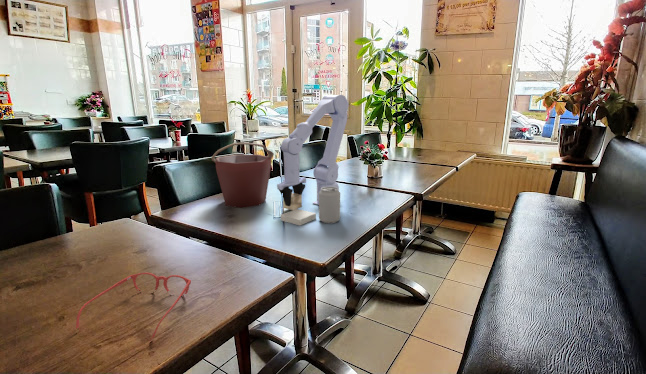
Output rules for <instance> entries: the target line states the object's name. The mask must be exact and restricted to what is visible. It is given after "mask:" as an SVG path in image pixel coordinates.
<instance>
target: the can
mask: <svg viewBox="0 0 646 374" xmlns="http://www.w3.org/2000/svg"><path fill="white" fill-rule="evenodd" d="M338 190H339V191H338ZM340 219H341V192H340V188H339V189H338V188H336V187H323V188H321V191H320V192H319V205H318V220H320V221H321V223H323V224H335V223H338V221H339V220H340Z"/></svg>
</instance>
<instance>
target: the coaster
mask: <svg viewBox="0 0 646 374" xmlns="http://www.w3.org/2000/svg"><path fill="white" fill-rule="evenodd" d="M316 219H317V213H316V212H313V211H312V212H311V211H307V210H303V209H301V208H298V209H295V210H290V211H288V212H285V213H282V214H280V221H282V222H286V223H289V224H293V225H297V226H302V225H304V224H306V223H310V222H311V221H313V220H316Z"/></svg>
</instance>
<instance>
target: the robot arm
mask: <svg viewBox="0 0 646 374" xmlns="http://www.w3.org/2000/svg"><path fill="white" fill-rule="evenodd" d="M349 105H350V104H349V102H348V99H347V97H346V96H345V95H344V94H337V95H336V94H335V95H334V94H325V95H324V96H322V99H320V100H319V101H318V105H317V106H316V107H315V109H314V110H313V111H312V113H311V114H310V115H309V117H308V118H307V119H306V121H305V122H300V123H297V124H296V127H295V129H294V130H293V131H292V132H291V133H290V134H288V137H286V138H284V139H283V140H282V142H281V145H280V150H281V151H282V152H283V167H284V168H283V169H284V170H283V171H284V173H283V175H284V179H283V180H282V182H279V183H277V184H276V187H277V188H276V189H277V190H278V191H279V192H280V194H281V195H282V193H283V196H282V198H283V199H284V202H285V205H286V206H290V205H291V195H292V193H295V194H300V195H302V196H303V192H304V190H305V188H306V183H307V178H306V177H300V152H302V150H303V145H304V143H305V142H306V141H307V140H308V138H309V137H310V136H311V135H312V134H313V128H314V127H315V126H316V125H317V124H318V123H319V121H321V120H322V118H323V117H324V116H326V115H327V114H328V115H329V117H330V118H331V120H332V123H331V126H330V127H331V128H330V129H329V134H328V137H327V141H326V145H325V148H324V152H323V156H322V158H321V159H319V160H318V162H317V165H316V166H315V167H314V169H313V172H312V173H313V177H314V179H315V181H316V201H312V204H313V205H318V206H319V192H320V191H321V188H323V187H336V188H338V189H339V190H338V191H339V192H340V186H339V184H338V182H337V181H338V178H339V167H340V166H339V165H338V163H337V158H338V155H339V151H340V148H341V144H342V140H343V136H344V133H345V129H346V125H347V123H348V108H349ZM290 187H292V188H290ZM283 199H282V200H283ZM284 202H283V203H284Z"/></svg>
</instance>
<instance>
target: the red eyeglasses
mask: <svg viewBox="0 0 646 374" xmlns="http://www.w3.org/2000/svg"><path fill="white" fill-rule="evenodd" d="M140 275H149V276H152V277H153V278H154V279H155V288H154V290H156V291H157V290H158V289H159V286H160V280H163V287H164V289H165V291H166V292H167V293H168V291H170V290H169V287H168V280H169V279H170V278H174V277H175V278H180V279H182V280H184V282H185V286H184V288H183V290H182V291H181V293H180V294H179V296H178V297H177V299H176V300H175V301H174V303H173V304H172V305H171V307H170V308H169V309H168V310H167V311H166V312H165V314H164V315H163V317H162V318H161V319H160V320H159V322H158V324H157V325H156V328H155V329H154V332H153V334H152V336H151V338H150V340H151V339H152V338H153V337H154V338H155V336H156V333H157V331H158V329H159V326H160V324H161V323H162V321H164V319H165V317H166V316H167V315H168V314H170V312H171V310H172V309H173V308H174V307H175V306H176V304H177V303H178V302H179V301H180V299H181V298H182V297H181V296H183V295H184V294H186V295H187V294H188V293H189V289H190V285H191V283H192V280H191V279H189V278H186V277H185V276H181V275H177V274H172V275H168V276H167V277H166V276H163V275H162V276H160V275H159V276H157V275H156V274H154V273H152V272H139V273H135V274H130V275H129V276H126V277H125V278H122V280H120V281H118V282H117V283H115V284H113V285H112V286H110V287H108V288H107V289H105V290H104V291H102V292H100V293H99V294H98V295H97V294H96V296H94V297H93V298H91V299H89V301H87V302H86V303H84V305H83V306H81V308H80V310H79V311H78V313H77V316H76V323H75V330H76V329H77V328H78V327H79V328H80V318H81V314H82V312H83V310H84V309H85V308H86V306H87V305H89V304H90V303H91V302H94V301H95V300H97V299H98V298H99V297H101V296H102V295H105V294H106V293H108V292H110V291H111V290H113V289H115V288H118V286H121V285H122V284H124V283H125V282H127V281H128V282H129V280H132V282H133V283H132V284H133V285H134V286H133V287H134V288H135V289H136V290H137V289H139V287H138V285H137V282H136V281H137V280H136V279H137V278H138V277H139V276H140Z"/></svg>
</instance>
